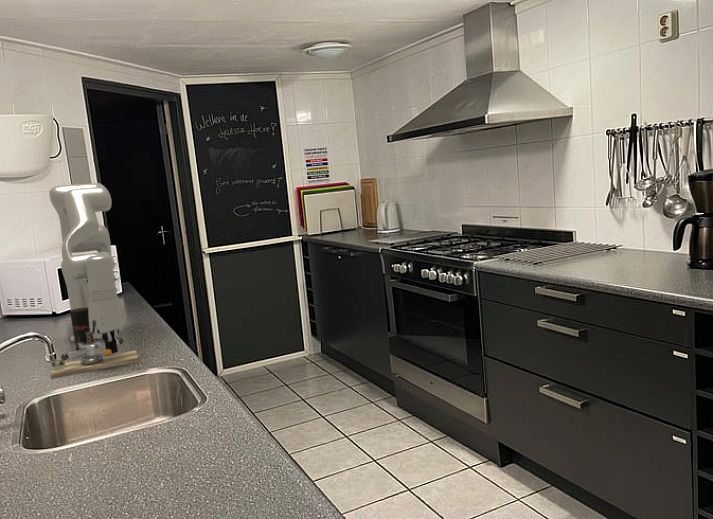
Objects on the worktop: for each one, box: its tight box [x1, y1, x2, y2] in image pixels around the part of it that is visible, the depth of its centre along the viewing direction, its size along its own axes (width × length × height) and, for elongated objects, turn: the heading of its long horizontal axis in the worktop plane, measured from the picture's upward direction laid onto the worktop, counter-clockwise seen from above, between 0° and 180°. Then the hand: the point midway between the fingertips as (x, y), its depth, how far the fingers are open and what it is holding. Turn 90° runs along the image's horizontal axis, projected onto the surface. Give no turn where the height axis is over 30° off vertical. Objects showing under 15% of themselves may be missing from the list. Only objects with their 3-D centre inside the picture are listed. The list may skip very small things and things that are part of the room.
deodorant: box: [69, 308, 95, 351], centre depth 206 cm, size 6×6×15 cm
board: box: [50, 349, 140, 379], centre depth 189 cm, size 11×25×4 cm, turn 114°
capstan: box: [60, 337, 125, 364], centre depth 189 cm, size 20×20×5 cm
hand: (112, 352), depth 187 cm, fingers closed
